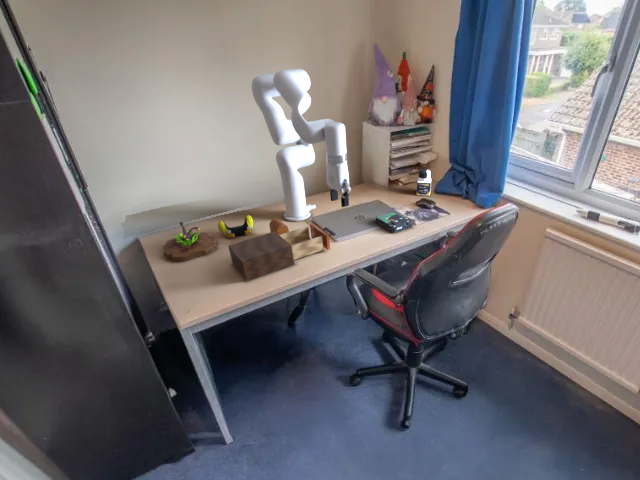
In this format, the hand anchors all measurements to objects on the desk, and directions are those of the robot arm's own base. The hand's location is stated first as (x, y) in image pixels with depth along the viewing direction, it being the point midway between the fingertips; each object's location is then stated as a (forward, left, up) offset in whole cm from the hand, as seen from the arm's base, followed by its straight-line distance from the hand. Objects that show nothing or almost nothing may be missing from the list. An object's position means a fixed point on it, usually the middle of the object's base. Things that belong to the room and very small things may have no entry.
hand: (339, 202), depth 152 cm
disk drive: (-25, +3, -16) cm, 30 cm away
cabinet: (+36, 0, -16) cm, 39 cm away
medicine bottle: (-61, -17, -16) cm, 65 cm away
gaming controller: (+34, -33, -16) cm, 50 cm away
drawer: (+16, 0, -15) cm, 22 cm away
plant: (+55, -31, -16) cm, 65 cm away
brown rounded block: (+21, -17, -16) cm, 31 cm away
